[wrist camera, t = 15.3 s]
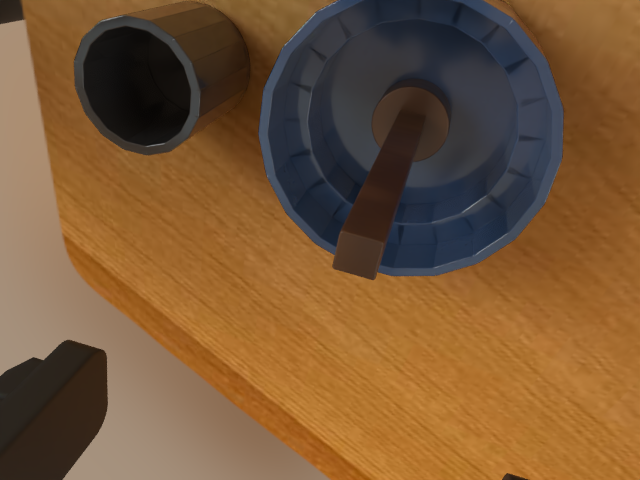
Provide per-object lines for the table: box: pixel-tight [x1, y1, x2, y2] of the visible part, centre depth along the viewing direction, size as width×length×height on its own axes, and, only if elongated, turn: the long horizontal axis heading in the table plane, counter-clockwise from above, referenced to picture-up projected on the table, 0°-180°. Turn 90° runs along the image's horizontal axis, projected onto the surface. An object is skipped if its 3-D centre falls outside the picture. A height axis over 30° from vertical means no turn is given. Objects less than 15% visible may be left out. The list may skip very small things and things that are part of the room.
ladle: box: [333, 79, 451, 280], centre depth 25 cm, size 4×4×16 cm
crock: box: [74, 2, 250, 155], centre depth 32 cm, size 7×7×7 cm
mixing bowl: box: [258, 0, 564, 276], centre depth 30 cm, size 14×14×6 cm
